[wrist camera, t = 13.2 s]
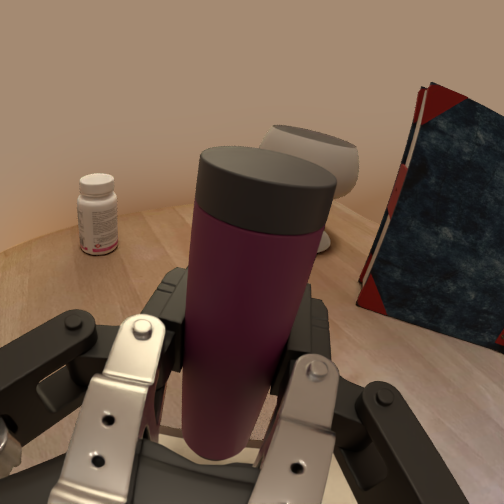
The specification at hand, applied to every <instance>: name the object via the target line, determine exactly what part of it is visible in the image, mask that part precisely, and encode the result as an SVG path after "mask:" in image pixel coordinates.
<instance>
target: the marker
mask: <svg viewBox="0 0 504 504" xmlns="http://www.w3.org/2000/svg"><path fill="white" fill-rule="evenodd" d="M336 186H337V179H336V177H335V176H334V175H333V174H332V173H331V172H329V171H328V170H326V169H325V168H323V167H321V166H319V165H317V164H315V163H312V162H310V161H307V160H304V159H302V158H299V157H295V156H292V155H288V154H285V153H280V152H276V151H271V150H266V149H260V148H252V147H241V146H221V147H213V148H209V149H206V150H204V151H203V152H202V153H201V155H200V160H199V168H198V176H197V184H196V193H195V202H194V211H193V221H192V231H191V241H190V253H189V265H188V278H187V292H186V307H185V327H184V348H183V376H182V435H183V438H184V440H185V442H186V444H187V445H188V447H189V448H190V449H191V450H192V451H194V452H195V453H196V454H197V455H198V456H200V457H201V458H203V459H206V460H210V461H222V460H225V459H228V458H231V457H234V456H235V455H237V454H239V453H240V452H241V451H242V450H243V449H244V448H245V446H246V445H247V443H248V440H249V438H250V436H251V433H252V431H253V429H254V426H255V424H256V421H257V419H258V416H259V414H260V411H261V409H262V406H263V404H264V401H265V399H266V396H267V394H268V391H269V389H270V386H271V383H272V380H273V378H274V375H275V373H276V370H277V367H278V365H279V362H280V359H281V356H282V354H283V351H284V348H285V346H286V343H287V340H288V337H289V335H290V332H291V329H292V326H293V324H294V321H295V318H296V315H297V312H298V309H299V306H300V303H301V300H302V297H303V294H304V291H305V288H306V285H307V282H308V279H309V276H310V273H311V270H312V267H313V264H314V261H315V257H316V254H317V251H318V248H319V245H320V241H321V238H322V235H323V231H324V228H325V223H326V221H327V218H328V214H329V211H330V208H331V204H332V201H333V197H334V193H335V190H336Z"/></svg>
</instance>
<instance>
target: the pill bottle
mask: <svg viewBox="0 0 504 504" xmlns="http://www.w3.org/2000/svg"><path fill="white" fill-rule="evenodd" d="M113 191H114V177H113V176H111V175H109V174H102V173H100V174H99V173H98V174H90V175H86V176H84V177H82V178H81V179H80V193H81V194H80V195H79V197H78V199H77V210H78V225H79V236H80V245H81V248H82V250H83V251H84V252H86V253H89V254H93V255H102V254H106V253H109V252H111V251H113V250H114V249H115V248H116V247H117V244H118V231H117V196H116V194H115V193H114V192H113Z"/></svg>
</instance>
